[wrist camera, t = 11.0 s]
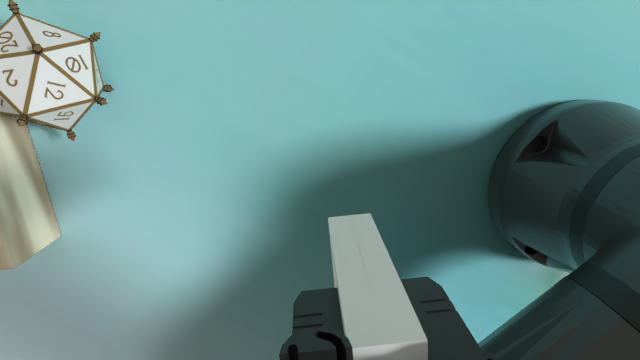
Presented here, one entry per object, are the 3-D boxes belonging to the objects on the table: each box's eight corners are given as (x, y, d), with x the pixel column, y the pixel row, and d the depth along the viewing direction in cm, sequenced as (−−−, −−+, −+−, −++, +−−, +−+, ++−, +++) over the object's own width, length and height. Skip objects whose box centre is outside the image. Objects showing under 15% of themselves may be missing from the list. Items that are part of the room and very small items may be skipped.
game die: (77, 74, 34) (-80, 41, 26) (126, 12, 30) (-42, -52, 22) (103, 162, 32) (-60, 157, 24) (158, 107, 28) (-13, 77, 20)
